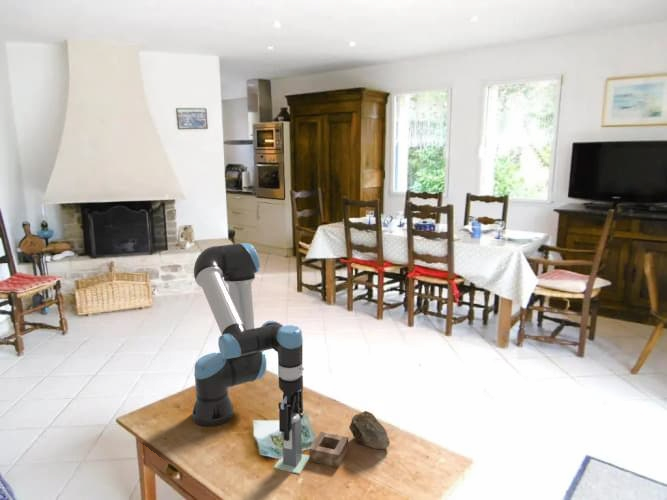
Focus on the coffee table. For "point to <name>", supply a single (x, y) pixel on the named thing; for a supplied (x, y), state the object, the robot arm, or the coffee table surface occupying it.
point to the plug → (294, 443)
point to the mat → (293, 469)
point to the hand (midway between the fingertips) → (292, 442)
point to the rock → (369, 431)
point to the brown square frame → (329, 449)
